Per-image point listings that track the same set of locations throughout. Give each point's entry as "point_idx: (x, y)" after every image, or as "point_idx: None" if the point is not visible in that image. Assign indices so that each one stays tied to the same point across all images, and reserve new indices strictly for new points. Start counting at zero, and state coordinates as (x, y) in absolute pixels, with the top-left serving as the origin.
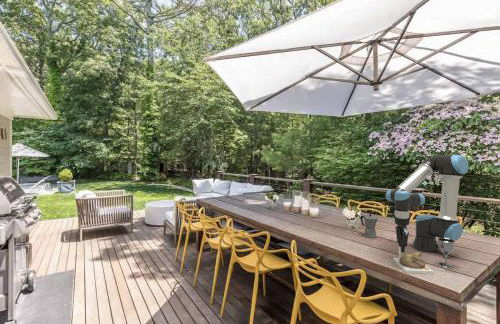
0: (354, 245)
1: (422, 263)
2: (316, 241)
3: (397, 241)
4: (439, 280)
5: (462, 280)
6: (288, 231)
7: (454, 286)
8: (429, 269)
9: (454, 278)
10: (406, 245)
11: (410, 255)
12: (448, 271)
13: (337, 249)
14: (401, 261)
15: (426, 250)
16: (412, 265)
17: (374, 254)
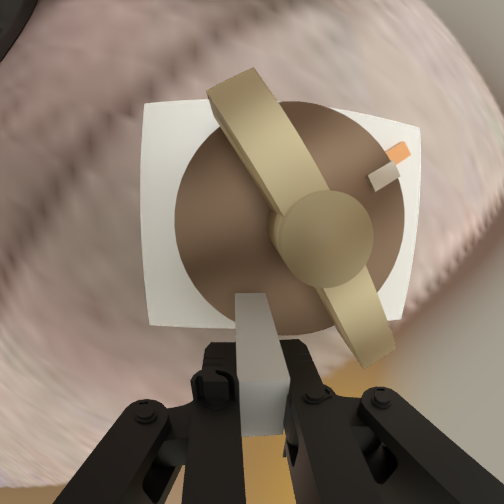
0: (13, 404)
1: (356, 149)
2: (55, 481)
3: (160, 469)
4: (468, 159)
5: (444, 43)
6: (25, 484)
7: (498, 136)
8: (393, 131)
9: (435, 58)
10: (406, 409)
11: (366, 282)
12: (345, 10)
13: None
14: (312, 331)
15: (16, 26)
16: (391, 267)
17: (84, 385)
